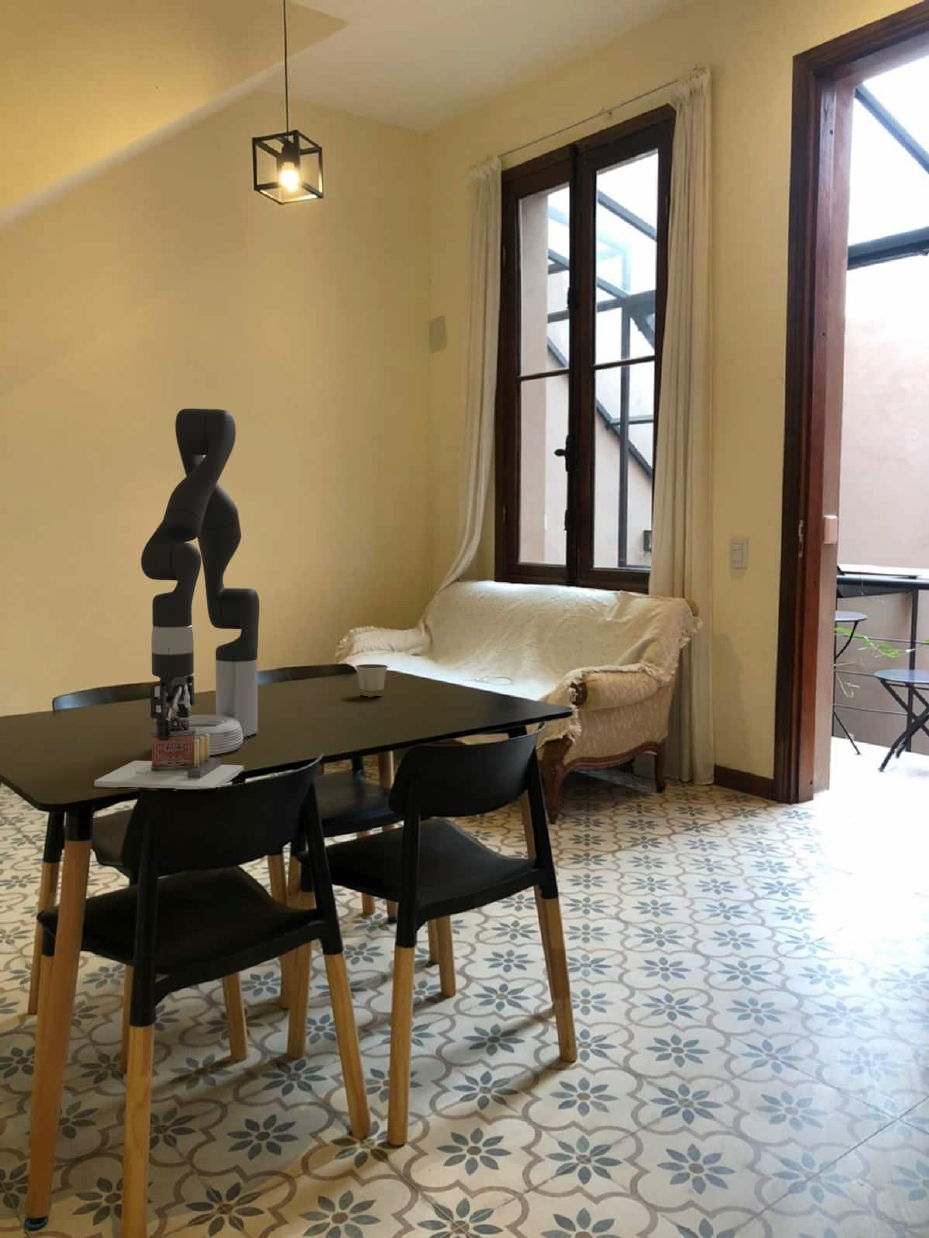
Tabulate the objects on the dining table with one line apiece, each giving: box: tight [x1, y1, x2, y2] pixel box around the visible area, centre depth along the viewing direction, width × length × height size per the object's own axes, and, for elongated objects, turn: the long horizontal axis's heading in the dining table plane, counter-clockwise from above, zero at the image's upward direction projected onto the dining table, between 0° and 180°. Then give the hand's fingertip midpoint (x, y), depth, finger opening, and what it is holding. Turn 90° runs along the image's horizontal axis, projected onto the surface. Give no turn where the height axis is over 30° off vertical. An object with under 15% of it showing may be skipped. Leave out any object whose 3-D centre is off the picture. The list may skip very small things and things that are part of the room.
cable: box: [189, 714, 244, 756], centre depth 206 cm, size 18×18×6 cm
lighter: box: [150, 715, 196, 772], centre depth 182 cm, size 8×3×10 cm, turn 106°
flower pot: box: [354, 663, 389, 691], centre depth 276 cm, size 9×9×9 cm
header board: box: [94, 734, 245, 789], centre depth 180 cm, size 16×22×8 cm
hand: (173, 735), depth 182 cm, fingers open, 8 cm apart
